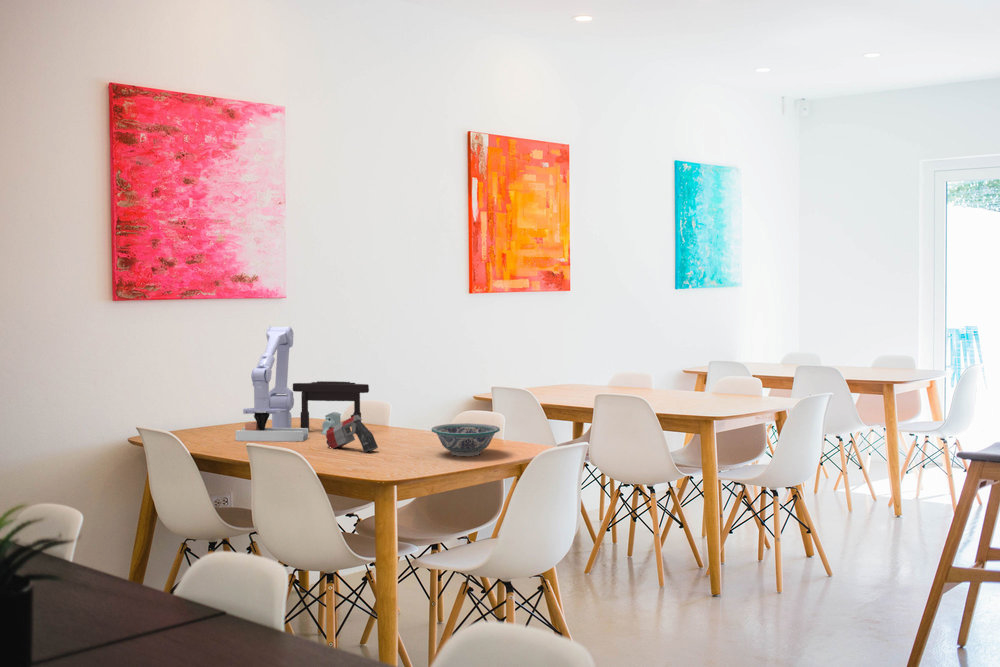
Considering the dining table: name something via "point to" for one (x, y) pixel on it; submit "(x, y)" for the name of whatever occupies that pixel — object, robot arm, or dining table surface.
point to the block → (252, 426)
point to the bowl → (465, 437)
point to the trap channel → (273, 434)
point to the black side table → (329, 398)
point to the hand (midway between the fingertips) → (261, 431)
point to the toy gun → (350, 434)
